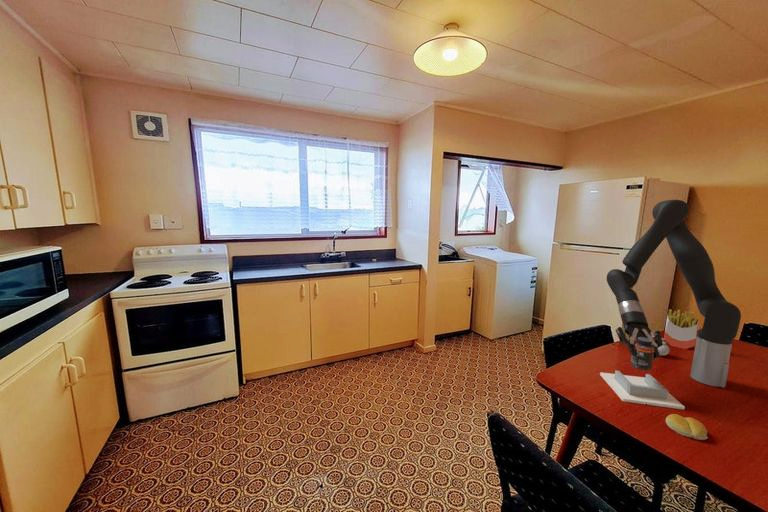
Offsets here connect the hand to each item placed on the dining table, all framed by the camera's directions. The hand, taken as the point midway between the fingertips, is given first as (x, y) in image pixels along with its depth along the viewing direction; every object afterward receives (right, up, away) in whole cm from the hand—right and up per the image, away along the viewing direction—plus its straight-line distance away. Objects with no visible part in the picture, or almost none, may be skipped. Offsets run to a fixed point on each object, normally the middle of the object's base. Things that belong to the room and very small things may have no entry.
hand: (645, 356), depth 108 cm
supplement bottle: (0, -5, +3) cm, 6 cm away
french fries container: (+52, -9, +41) cm, 67 cm away
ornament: (+34, -10, +32) cm, 48 cm away
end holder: (0, -14, +4) cm, 14 cm away
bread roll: (-2, -17, -16) cm, 24 cm away
